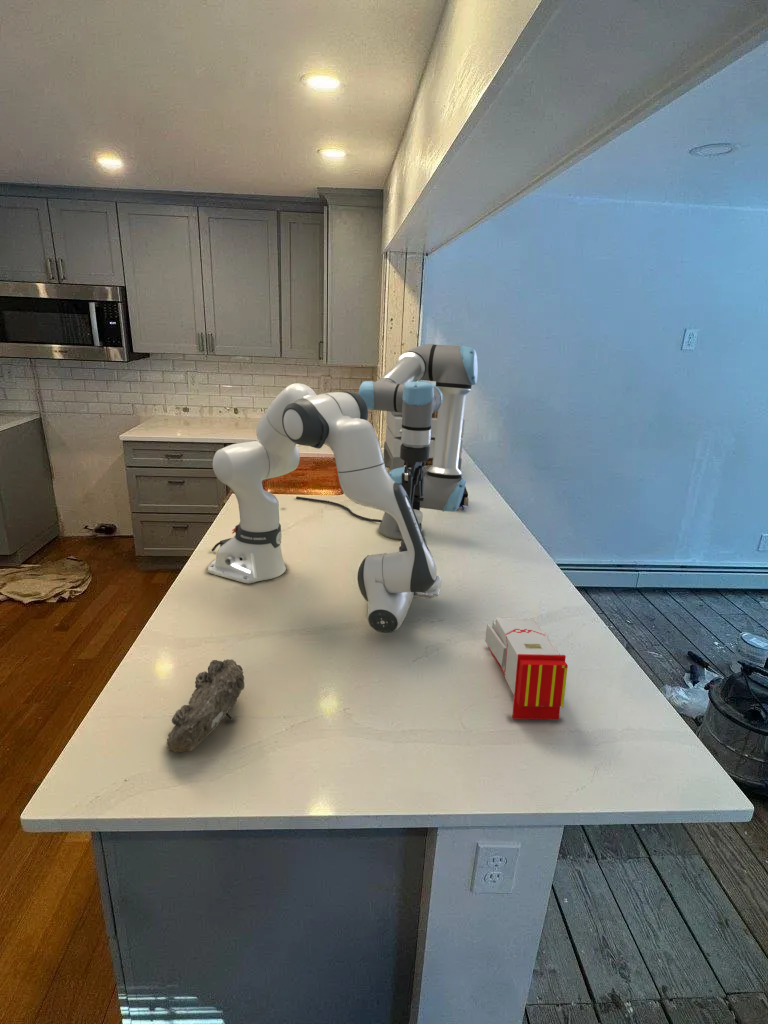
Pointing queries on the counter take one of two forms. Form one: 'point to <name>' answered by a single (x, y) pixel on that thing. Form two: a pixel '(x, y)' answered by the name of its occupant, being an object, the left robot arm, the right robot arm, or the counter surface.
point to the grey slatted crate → (395, 443)
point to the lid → (418, 515)
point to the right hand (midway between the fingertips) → (410, 527)
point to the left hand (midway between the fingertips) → (407, 569)
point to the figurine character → (464, 499)
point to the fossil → (206, 705)
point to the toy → (529, 667)
